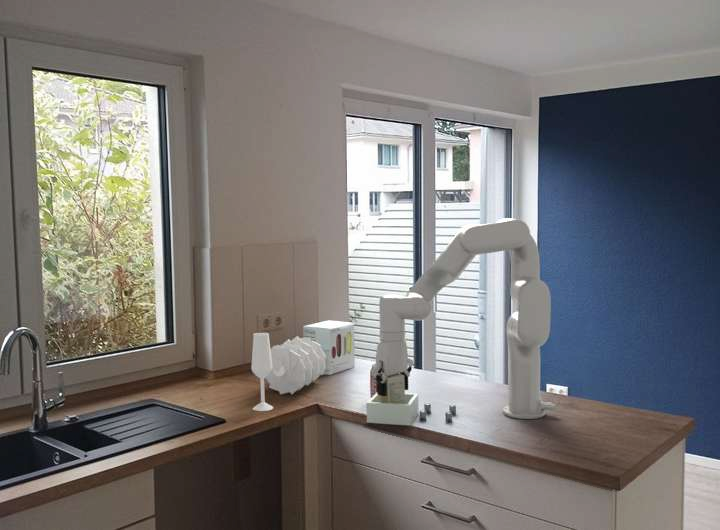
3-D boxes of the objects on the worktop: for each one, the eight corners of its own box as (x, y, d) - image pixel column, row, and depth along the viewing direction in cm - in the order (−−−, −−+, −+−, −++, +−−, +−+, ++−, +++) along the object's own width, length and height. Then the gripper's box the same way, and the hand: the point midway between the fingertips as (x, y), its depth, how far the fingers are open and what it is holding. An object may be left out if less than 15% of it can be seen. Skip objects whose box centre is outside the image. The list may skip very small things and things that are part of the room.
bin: (418, 413, 223) (418, 394, 223) (409, 425, 211) (409, 405, 210) (377, 410, 227) (377, 391, 226) (366, 422, 214) (366, 402, 214)
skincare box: (398, 411, 222) (398, 372, 221) (406, 414, 218) (405, 375, 217) (380, 414, 219) (379, 374, 218) (387, 418, 215) (387, 377, 214)
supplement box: (331, 375, 274) (330, 328, 273) (303, 371, 282) (302, 325, 280) (356, 367, 289) (355, 322, 287) (329, 363, 296) (328, 319, 295)
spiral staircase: (318, 392, 266) (291, 406, 243) (278, 368, 271) (248, 381, 247) (338, 348, 263) (313, 359, 240) (298, 326, 268) (269, 334, 244)
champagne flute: (261, 412, 227) (259, 336, 225) (248, 408, 231) (246, 334, 229) (277, 407, 232) (276, 333, 230) (264, 404, 236) (262, 331, 234)
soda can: (390, 404, 233) (389, 368, 232) (368, 403, 235) (368, 367, 234) (393, 398, 240) (393, 363, 239) (372, 398, 242) (372, 362, 241)
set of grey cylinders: (456, 413, 223) (456, 405, 222) (451, 422, 213) (451, 414, 213) (425, 411, 225) (425, 403, 225) (419, 420, 216) (418, 412, 216)
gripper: (402, 331, 226) (403, 385, 227) (363, 338, 214) (363, 395, 215) (420, 333, 220) (421, 389, 222) (381, 342, 208) (382, 400, 210)
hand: (393, 392), depth 218 cm, fingers open, 9 cm apart
